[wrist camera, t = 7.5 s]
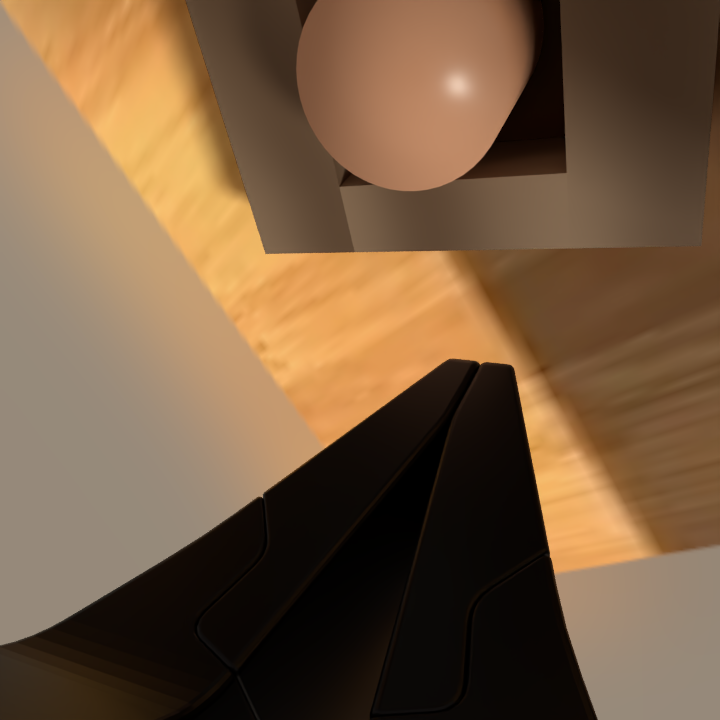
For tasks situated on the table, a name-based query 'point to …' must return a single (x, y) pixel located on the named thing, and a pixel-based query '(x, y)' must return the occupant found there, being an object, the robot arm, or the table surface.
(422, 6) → the button rust
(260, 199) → the wooden compartment tray
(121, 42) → the table surface
